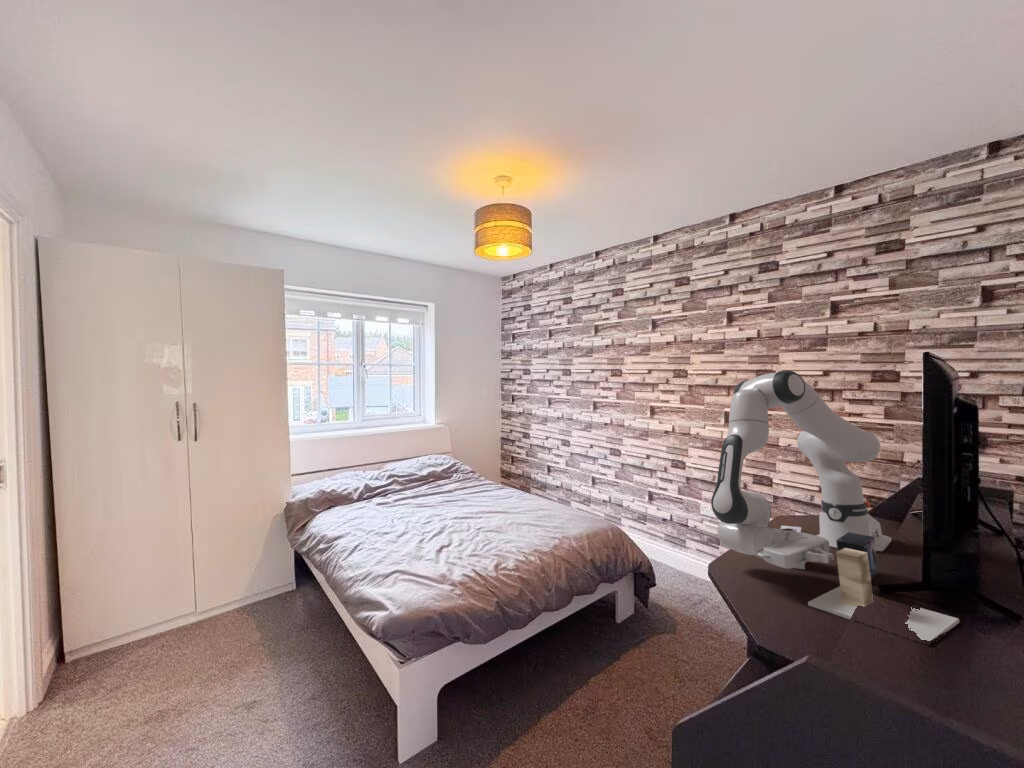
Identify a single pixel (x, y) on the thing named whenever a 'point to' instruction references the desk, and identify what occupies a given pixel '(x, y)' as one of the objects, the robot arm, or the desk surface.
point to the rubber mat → (919, 622)
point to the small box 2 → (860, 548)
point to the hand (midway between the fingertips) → (830, 558)
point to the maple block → (854, 577)
